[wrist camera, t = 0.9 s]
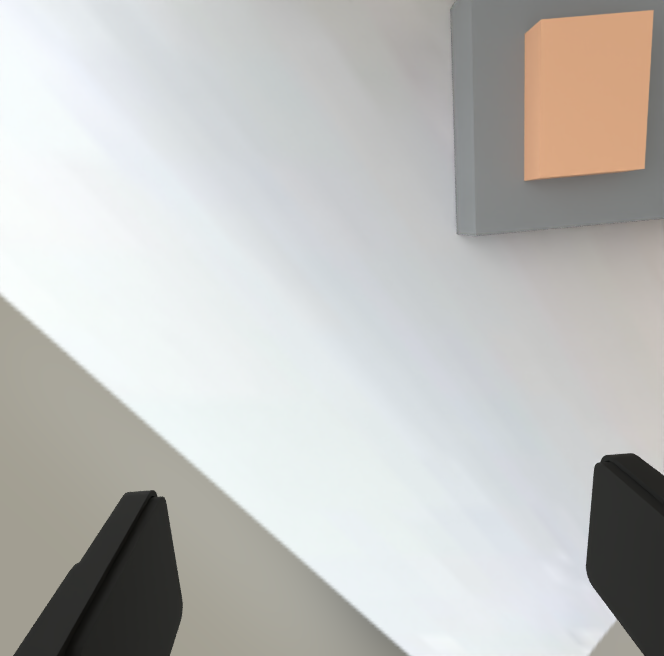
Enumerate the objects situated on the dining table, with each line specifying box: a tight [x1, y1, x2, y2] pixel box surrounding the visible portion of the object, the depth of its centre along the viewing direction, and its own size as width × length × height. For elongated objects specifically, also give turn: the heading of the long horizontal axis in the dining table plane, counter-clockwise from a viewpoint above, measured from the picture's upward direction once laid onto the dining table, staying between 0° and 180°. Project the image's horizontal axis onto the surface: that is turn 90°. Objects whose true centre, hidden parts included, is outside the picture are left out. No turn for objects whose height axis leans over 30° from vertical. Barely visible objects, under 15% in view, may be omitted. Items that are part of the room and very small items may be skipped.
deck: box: [451, 0, 664, 236], centre depth 30 cm, size 14×16×4 cm
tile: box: [524, 10, 654, 181], centre depth 27 cm, size 8×6×2 cm
